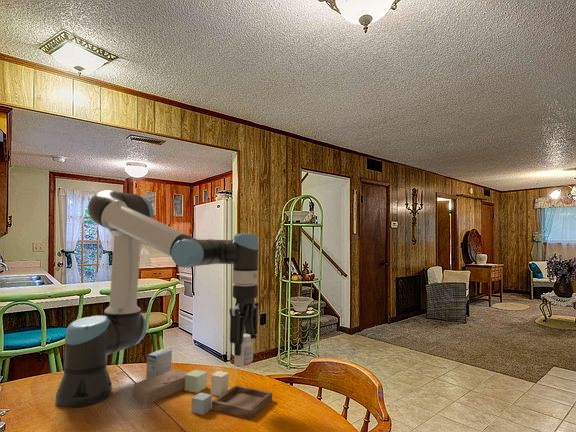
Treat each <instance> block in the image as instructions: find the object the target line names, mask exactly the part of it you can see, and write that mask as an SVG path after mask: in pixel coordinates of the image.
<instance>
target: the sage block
mask: <svg viewBox="0 0 576 432" xmlns="http://www.w3.org/2000/svg"><path fill="white" fill-rule="evenodd" d="M207 380H208V372H207V371H205V370H199V369H194V370H192V371H189V372H187V374H185V389H184V391H187V392H191V393H195V394H199V393H200V392H201V391H203V390H205V389H206V388H207V387H208V385H207V383H208V381H207Z"/></svg>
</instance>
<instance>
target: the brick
mask: <svg viewBox="0 0 576 432" xmlns="http://www.w3.org/2000/svg"><path fill="white" fill-rule="evenodd" d="M187 373H188V372H187V371H184V370H180V369H176V368H174V369H171V371H168V372H165V373H163V374H161V375H160V376H155V377H152V378H149V379H146V378H145V379H143V380H140V381H138V382H135V383H134V384H133V388H132V393H131V395H132V398H133V399H134V400H137V401H138V402H140V403H141V404H144V405H147V404H151V403H153V402H155V401H156V402H157V400H159V399H162V398H163V399H164V398H165V397H167V396H171V395H172V394H175V393H178V392H181V391H183V390H185V374H187Z"/></svg>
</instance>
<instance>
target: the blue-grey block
mask: <svg viewBox="0 0 576 432" xmlns="http://www.w3.org/2000/svg"><path fill="white" fill-rule="evenodd" d="M212 396H213V395H211V393H209V394H208V393H205V392H201V391H200V392H198V393H196V395H194V396H192V397H191V408H190V410H191V413H194V414H197V415H205V414H206V413H208V412H209V411H210V410H212V401H213V399H212V398H213V397H212Z"/></svg>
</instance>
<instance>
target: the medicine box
mask: <svg viewBox="0 0 576 432" xmlns="http://www.w3.org/2000/svg"><path fill="white" fill-rule="evenodd" d="M172 355H173V351H172V349H167V348H161V349H159V350H156V351H153V352H151V353H148V354H147V356H146V372H145V373H146V375H145V376H146V378H145V379H149V378H152V377H155V376H160V375H161V374H163V373H165V372H168V371H171V370H172Z"/></svg>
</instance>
